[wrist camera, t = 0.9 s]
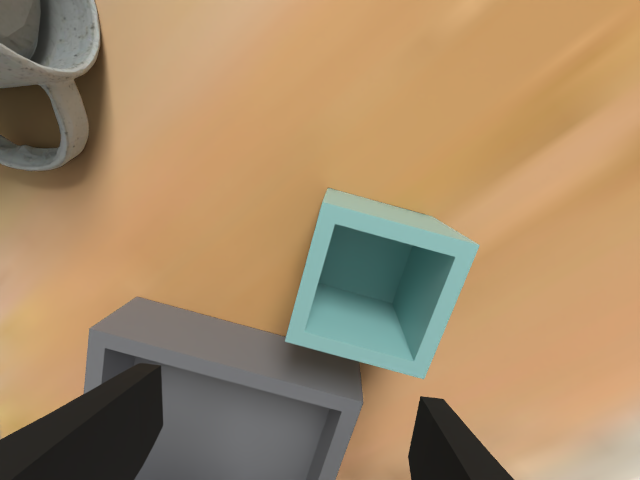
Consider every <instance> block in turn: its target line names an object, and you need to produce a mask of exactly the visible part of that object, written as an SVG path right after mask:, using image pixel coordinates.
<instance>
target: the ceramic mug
mask: <svg viewBox="0 0 640 480" xmlns="http://www.w3.org/2000/svg"><path fill="white" fill-rule="evenodd" d="M99 48H100V24H99V18H98V13H97V8H96V4H95V1H94V0H0V88H9V87H19V86H30V85H36V84H37V85H40V86H41V87H42V88H43V89H44V90H45V92H46V93H47V94H48V96H49V98H50V100H51V103H52V106H53V110H54V113H55V116H56V118H57V121H58V125H59V129H60V133H61V141H60V147H58V148H34V147H31V146H28V145H21V146H18V145H16V144H14V143H13V142H11V141H10V140H8V139H6V138H5V137H3V136H2V135H0V164H2V165H5V166H7V167H11V168H15V169H21V170H27V171H44V170H52V169H55V168H58V167H61V166H63V165H64V164H66V163H67V162H68V161H70V160H71V159H73V158H74V157H76V156H77V155H78V154H79V153H81V152H82V150H83V149H84V147H85V144H86V142H87V139H88V134H89V123H88V117H87V114H86V111H85V108H84V104H83V101H82V98H81V95H80V93H79V91H78V88H77V86H76V84H75V81H74V79H75V78H77V77H79V76H81V75H84V74H85V73H87V72H88V70H89V69H90V68H91V67H92V66H93V65H94V63H95V62H96V59H97V56H98V52H99Z"/></svg>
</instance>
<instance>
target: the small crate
mask: <svg viewBox="0 0 640 480" xmlns="http://www.w3.org/2000/svg"><path fill="white" fill-rule="evenodd" d="M478 248H479V244H477V243H475V242H474V241H472V240H470V239H469V238H467V237H465V236H464V235H462V234H460V233H459V232H457V231H455V230H454V229H452V228H450V227H449V226H447V225H446V224H444V223H442V222H441V221H439V220H437V219H436V218H434V217H432V216H429V215H425V214H421V213H418V212H414V211H411V210H407V209H403V208H400V207H396V206H392V205H389V204H385V203H382V202H378V201H374V200H371V199H367V198H363V197H360V196H356V195H353V194H349V193H345V192H342V191H338V190H334V189H331V188H328V189H327V191H326V194H325V197H324V199H323V202H322V205H321V209H320V213H319V216H318V220H317V224H316V228H315V231H314V235H313V239H312V242H311V246H310V250H309V253H308V257H307V261H306V265H305V268H304V272H303V276H302V279H301V283H300V287H299V291H298V294H297V298H296V302H295V305H294V309H293V313H292V316H291V320H290V324H289V328H288V331H287V335H286V339H285V342H288V343H292V344H296V345H300V346H303V347H307V348H311V349H314V350H318V351H322V352H325V353H329V354H333V355H337V356H340V357H344V358H348V359H351V360H355V361H359V362H362V363H366V364H370V365H373V366H377V367H381V368H385V369H388V370H392V371H396V372H399V373H403V374H407V375H410V376H414V377H418V378H422V379H424V378H425V376H426V373H427V371H428V369H429V366H430V364H431V361H432V359H433V356H434V354H435V352H436V349H437V347H438V344H439V342H440V340H441V337H442V335H443V332H444V330H445V327H446V325H447V323H448V320H449V318H450V315H451V313H452V311H453V308H454V306H455V303H456V301H457V299H458V296H459V294H460V291H461V289H462V286H463V284H464V282H465V279H466V277H467V274H468V272H469V270H470V267H471V265H472V262H473V260H474V257H475V255H476V253H477V250H478Z"/></svg>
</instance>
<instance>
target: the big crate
mask: <svg viewBox="0 0 640 480" xmlns="http://www.w3.org/2000/svg"><path fill="white" fill-rule="evenodd" d="M285 339H286V337H284V336H281V335H277V334H273V333H270V332H266V331H262V330H258V329H255V328H251V327H247V326H244V325H240V324H236V323H233V322H229V321H225V320H222V319H218V318H214V317H210V316H207V315H203V314H199V313H196V312H192V311H188V310H185V309H181V308H177V307H174V306H170V305H166V304H162V303H159V302H155V301H151V300H148V299H144V298H140V297H135V298H134V299H132V300H131V301H129V302H128V303H126V304H125V305H123V306H122V307H121V308H119V309H118V310H116V311H115V312H113V313H112V314H110V315H109V316H107V317H106V318H104V319H103V320H101V321H100V322H98V323H97V324H95V325H94V326H92V327H91V328H89V339H88V351H87V362H86V374H85V385H84V394H85V393H87V392H89V391H90V390H92V389H94V388H95V387H97V386H99V385H101V384H102V383H104V382H106V381H108V380H109V379H111V378H113V377H115V376H116V375H118V374H120V373H122V372H124V371H125V370H127V369H129V368H131V367H133V366H135V365H137V364H139V363H146V364H154V365H161V376H162V402H163V427H162V429H161V432H160V434H159V436H158V438H157V440H156V442H155V444H154V446H153V448H152V450H151V451H150V453H149V455H148V457H147V459H146V461H145V463H144V465H143V467H142V468H141V470H140V471H139V473H138V474H137V476H136V478H135V479H134V480H335V479H336V476H337V473H338V471H339V468H340V465H341V462H342V460H343V457H344V454H345V451H346V449H347V446H348V443H349V440H350V438H351V435H352V432H353V429H354V427H355V424H356V421H357V418H358V416H359V413H360V410H361V407H362V405H363V394H362V384H361V374H360V364H359V361H355V360H351V359H348V358H344V357H340V356H337V355H333V354H329V353H325V352H322V351H318V350H314V349H311V348H307V347H303V346H300V345H296V344H292V343H288V342H285Z"/></svg>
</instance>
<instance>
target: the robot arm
mask: <svg viewBox="0 0 640 480" xmlns="http://www.w3.org/2000/svg"><path fill="white" fill-rule="evenodd" d="M162 427H163V402H162V376H161V365H154V364H146V363H139V364H137V365H135V366H133V367H131V368H129V369H127V370H125V371H124V372H122V373H120V374H118V375H116V376H115V377H113V378H111V379H109V380H108V381H106V382H104V383H102V384H101V385H99V386H97V387H95V388H94V389H92V390H90V391H89V392H87V393H85V394H83V395H81V396H80V397H78V398H76V399H74V400H73V401H71V402H69V403H67V404H66V405H64V406H62V407H60V408H59V409H57V410H55V411H53V412H51V413H50V414H48V415H46V416H44V417H42V418H40V419H38V420H37V421H35V422H33V423H31V424H29V425H27V426H25V427H23V428H21V429H20V430H18V431H16V432H14V433H12V434H10V435H8V436H6V437H5V438H3V439H1V440H0V480H134V479H135V478H136V476H137V474H138V473H139V471H140V470H141V468H142V467H143V465H144V463H145V461H146V459H147V457H148V455H149V453H150V451H151V450H152V448H153V446H154V444H155V442H156V440H157V438H158V436H159V434H160V432H161V429H162ZM408 459H409V466H410V473H411V480H514V479H513V478H512V477H511V476H510V475H509V474H508V472H507V471H506V470H505V469H504V468H503V467H502V466H501V465H500V464H499V463H498V461H497V460H496V459H495V458H494V457H493V456H492V455H491V454H490V452H489V451H488V450H487V449H486V448H485V447H484V446H483V444H482V443H481V442H480V441H479V440H478V439H477V438H476V436H475V435H474V434H473V433H472V432H471V431H470V429H469V428H468V427H467V426H466V425H465V424H464V422H463V421H462V420H461V419H460V418H459V417H458V415H457V414H456V413H455V412H454V411H453V410H452V408H451V407H450V406H449V405H448V404H447V403H446V402H445V400H444V399H439V398H430V397H422V396H420V401H419V406H418V411H417V416H416V421H415V426H414V431H413V435H412V440H411V445H410V450H409V455H408Z"/></svg>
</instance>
